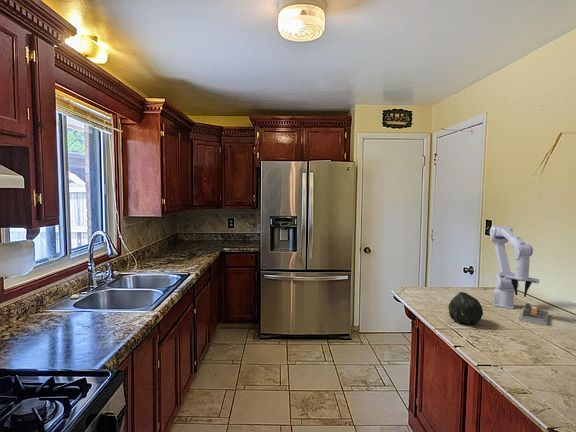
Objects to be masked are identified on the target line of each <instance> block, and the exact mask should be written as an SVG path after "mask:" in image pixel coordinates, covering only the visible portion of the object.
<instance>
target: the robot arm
mask: <svg viewBox="0 0 576 432" xmlns="http://www.w3.org/2000/svg"><path fill="white" fill-rule="evenodd" d="M489 236H490V238H489V239H490V241H491V243H493V246H494V250H495V255H496V260H497V264H498V270H499V272H497V273H496V274H495V276H494V285H495V287H496V288H494V290H493V300H492V301H493V302H492V303H493V304H492V305H493V307H500V308H503V309H504V308H507V309H509V310H510V309H511V310H514V308H515V306H516V304H514V303H515V302H514V301H515V300H514V299H515V296H518V288H519V287H520V286H519V285H520V284H519V282H525V283H524V293H523V294H524V295H523V297H524V298H526V297H527V293H528V290H529V289H530V287H531V285H532V283H533V284H537V285H539V284H540V279H539V278H534V277H530V276H529V275H530V260H531V259H530V257H531V256H532V255H533V253H534V248H533V246H532V244H530V243H526V242H525V241H523V240H522V239H521V238H520V236H515V234H514V233H513V227H512V226H511V225H491V227H490V229H489ZM507 243H508V244H509V245H510V247H511V248H512V249H513V253H514V259H515V268H514V269H515V270H514V271H515V272H513V271H511V268H510V263H509V259H508V254H507V250H506V245H505V244H507Z"/></svg>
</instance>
